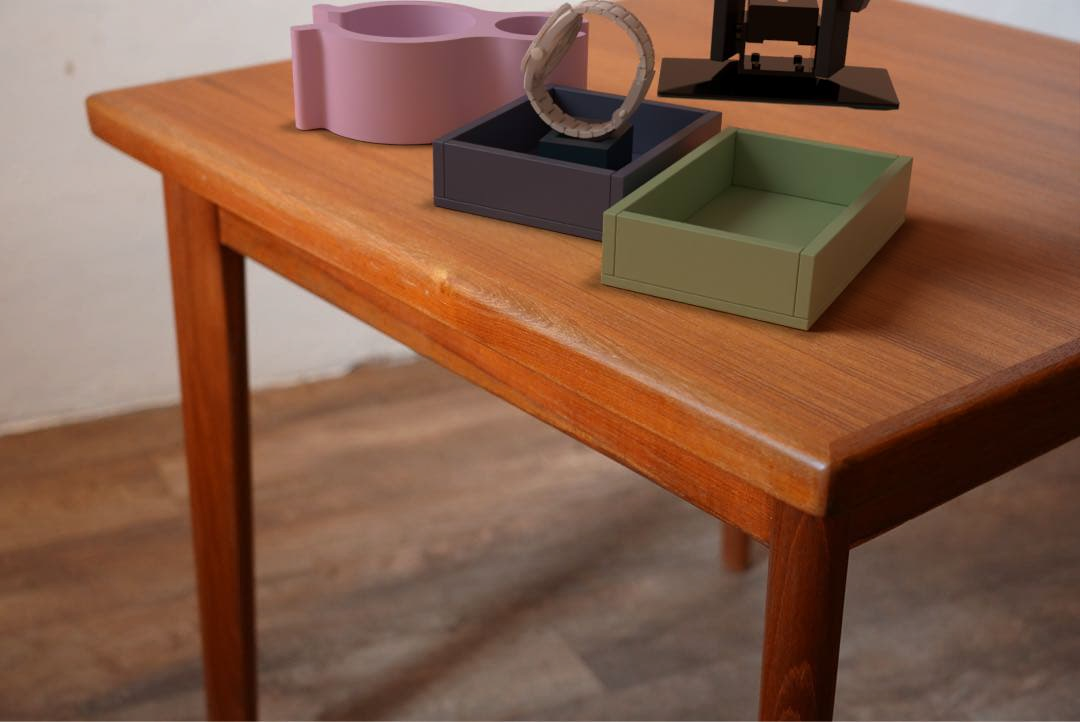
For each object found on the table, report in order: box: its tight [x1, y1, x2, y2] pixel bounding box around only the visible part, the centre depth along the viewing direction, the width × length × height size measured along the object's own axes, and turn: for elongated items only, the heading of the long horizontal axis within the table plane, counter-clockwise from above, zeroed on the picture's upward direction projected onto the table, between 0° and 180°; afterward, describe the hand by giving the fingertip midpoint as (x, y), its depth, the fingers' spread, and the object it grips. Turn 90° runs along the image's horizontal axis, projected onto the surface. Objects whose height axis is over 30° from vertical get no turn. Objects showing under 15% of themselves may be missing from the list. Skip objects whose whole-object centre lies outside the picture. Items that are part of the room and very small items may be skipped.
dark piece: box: [656, 0, 901, 112], centre depth 76 cm, size 12×7×5 cm, turn 83°
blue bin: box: [432, 83, 723, 242], centre depth 90 cm, size 13×15×4 cm
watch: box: [520, 0, 656, 172], centre depth 88 cm, size 6×8×11 cm
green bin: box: [600, 125, 914, 331], centre depth 81 cm, size 12×18×4 cm, turn 151°
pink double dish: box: [289, 0, 590, 145], centre depth 102 cm, size 20×12×7 cm, turn 85°
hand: (777, 62), depth 77 cm, fingers closed on dark piece, 5 cm apart
